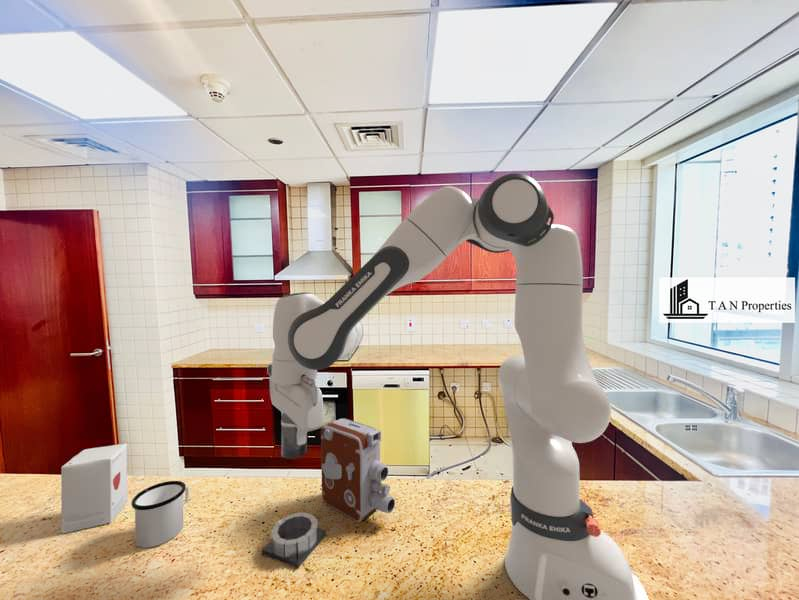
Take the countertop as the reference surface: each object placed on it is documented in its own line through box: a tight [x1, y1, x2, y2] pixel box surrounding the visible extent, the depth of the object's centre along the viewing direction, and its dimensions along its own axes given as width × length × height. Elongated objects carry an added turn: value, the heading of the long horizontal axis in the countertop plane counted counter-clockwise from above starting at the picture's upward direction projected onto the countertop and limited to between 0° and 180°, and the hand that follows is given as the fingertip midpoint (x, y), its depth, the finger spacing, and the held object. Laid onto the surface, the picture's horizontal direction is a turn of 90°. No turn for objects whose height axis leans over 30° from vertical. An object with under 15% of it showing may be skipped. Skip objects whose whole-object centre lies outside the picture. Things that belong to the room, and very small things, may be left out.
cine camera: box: [320, 417, 396, 523], centre depth 76 cm, size 9×19×20 cm, turn 53°
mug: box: [130, 480, 190, 549], centre depth 70 cm, size 12×10×9 cm
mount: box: [261, 511, 327, 569], centre depth 65 cm, size 9×9×4 cm
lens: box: [280, 413, 308, 460], centre depth 65 cm, size 5×5×8 cm
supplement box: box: [60, 443, 128, 534], centre depth 75 cm, size 9×9×15 cm
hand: (294, 437), depth 65 cm, fingers closed on lens, 5 cm apart
